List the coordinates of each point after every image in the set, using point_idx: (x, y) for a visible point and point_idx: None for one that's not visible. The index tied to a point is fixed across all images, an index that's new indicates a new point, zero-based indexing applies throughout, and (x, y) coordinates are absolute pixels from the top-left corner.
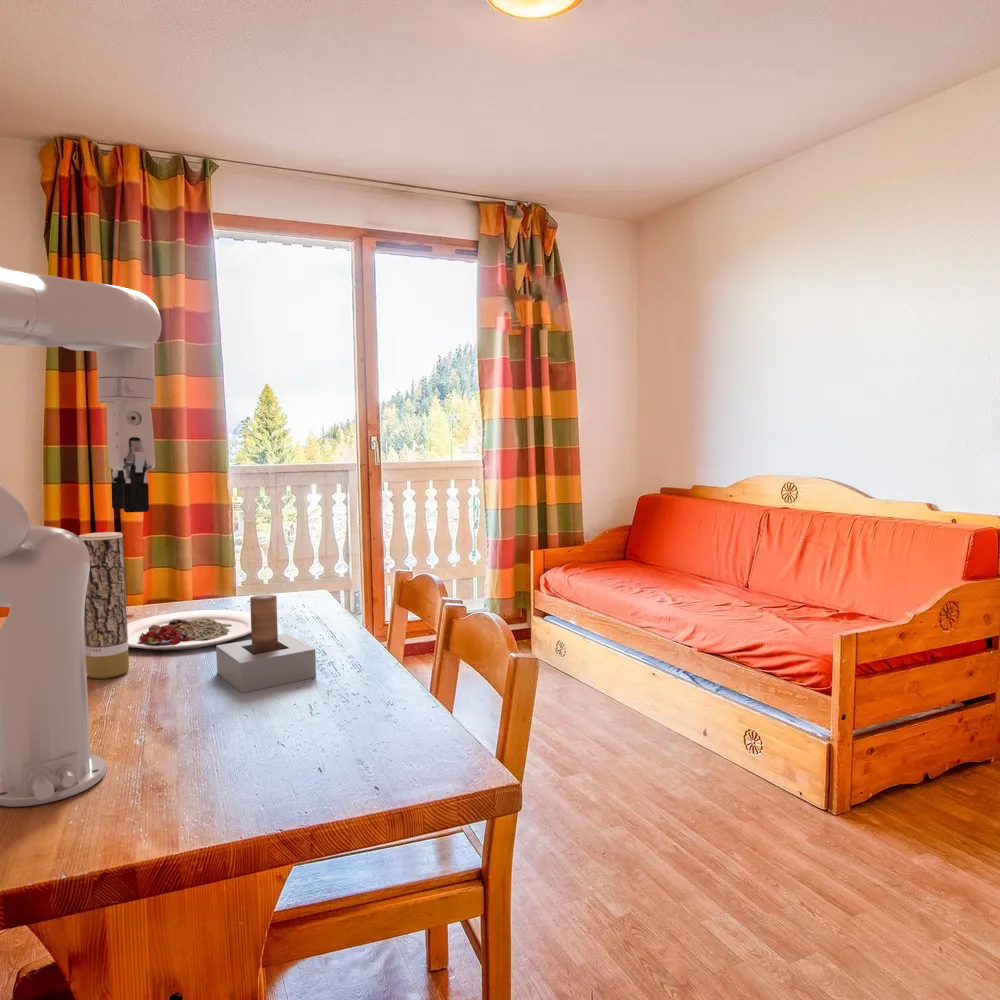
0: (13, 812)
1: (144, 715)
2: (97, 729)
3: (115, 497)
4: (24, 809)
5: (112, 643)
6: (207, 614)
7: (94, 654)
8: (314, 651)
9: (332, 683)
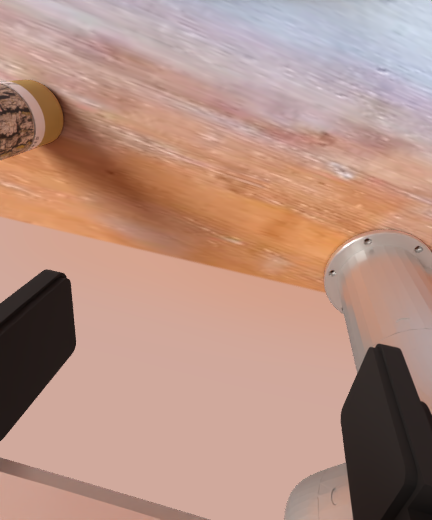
0: None
1: (257, 134)
2: (263, 196)
3: (44, 377)
4: None
5: (31, 120)
6: None
7: (38, 144)
8: None
9: None
